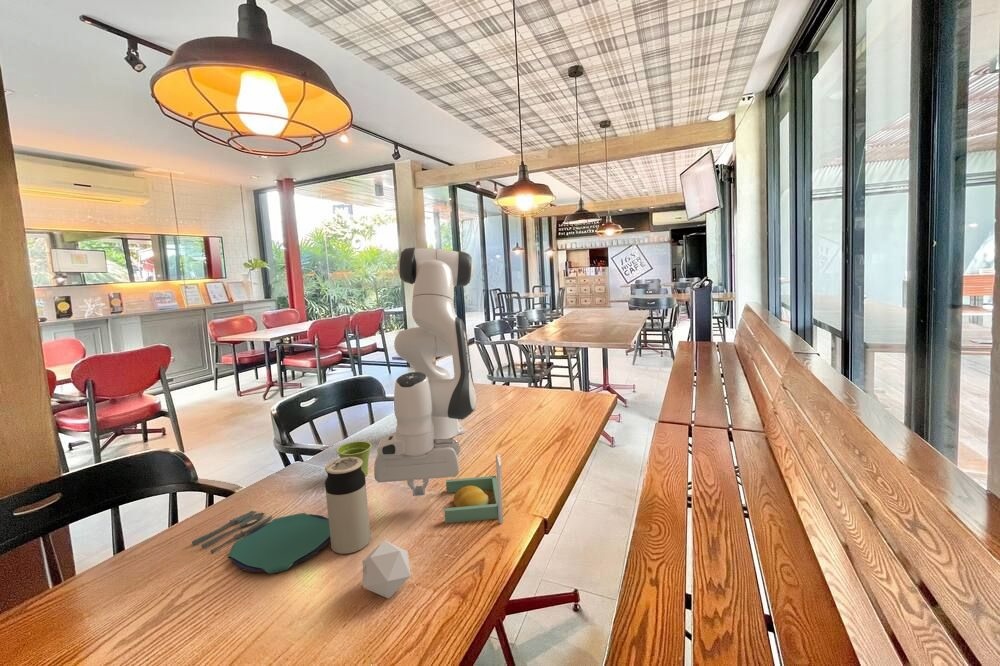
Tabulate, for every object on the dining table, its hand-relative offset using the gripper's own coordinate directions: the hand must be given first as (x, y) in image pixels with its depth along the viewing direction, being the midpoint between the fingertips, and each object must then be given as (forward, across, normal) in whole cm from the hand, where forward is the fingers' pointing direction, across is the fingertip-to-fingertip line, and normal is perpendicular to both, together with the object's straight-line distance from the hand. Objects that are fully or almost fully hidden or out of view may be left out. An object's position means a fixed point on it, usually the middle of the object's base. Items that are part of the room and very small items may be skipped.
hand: (419, 494), depth 107 cm
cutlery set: (+4, +32, +9) cm, 33 cm away
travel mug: (+3, +14, +13) cm, 19 cm away
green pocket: (+3, -13, +4) cm, 14 cm away
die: (+3, +3, +28) cm, 28 cm away
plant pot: (+4, +20, -20) cm, 29 cm away
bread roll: (+4, -12, +1) cm, 13 cm away
